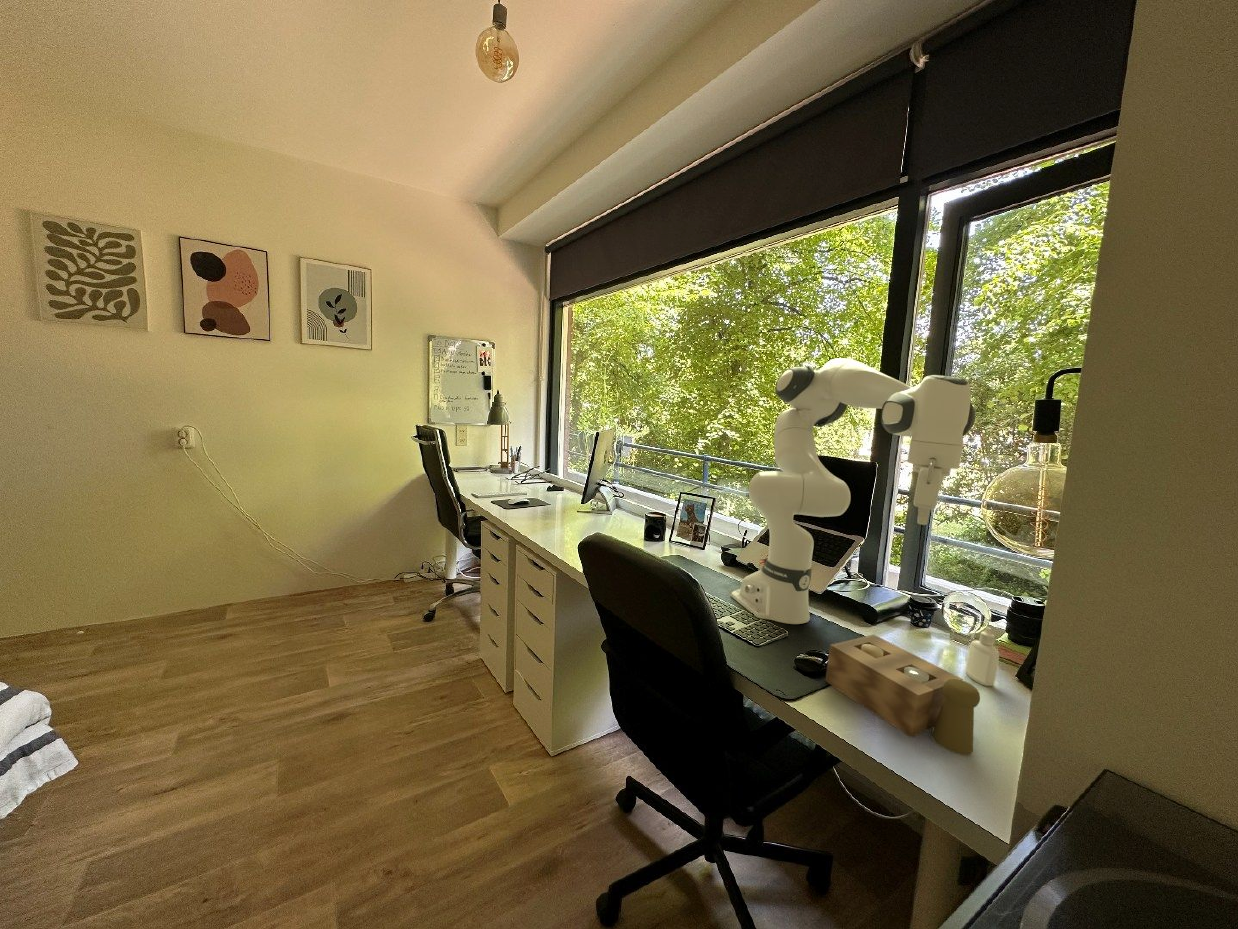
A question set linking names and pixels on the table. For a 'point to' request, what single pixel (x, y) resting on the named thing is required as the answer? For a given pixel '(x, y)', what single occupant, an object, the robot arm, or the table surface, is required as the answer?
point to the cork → (956, 717)
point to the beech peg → (872, 650)
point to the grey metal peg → (916, 674)
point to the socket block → (888, 683)
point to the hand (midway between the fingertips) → (921, 523)
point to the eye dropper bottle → (983, 659)
